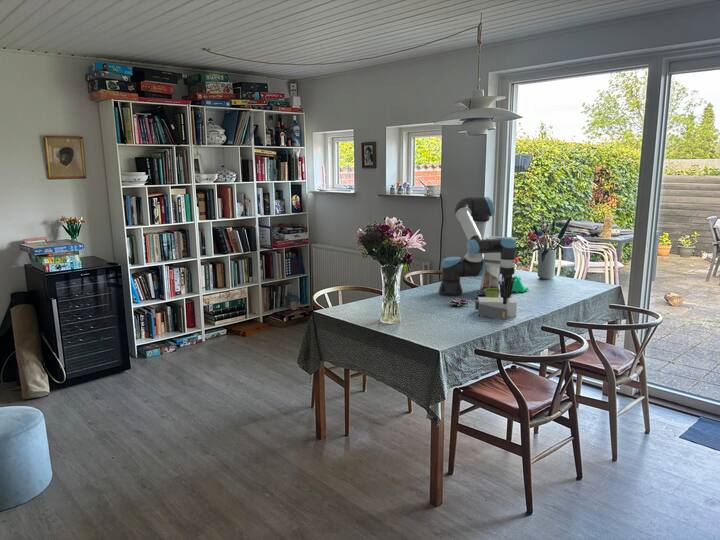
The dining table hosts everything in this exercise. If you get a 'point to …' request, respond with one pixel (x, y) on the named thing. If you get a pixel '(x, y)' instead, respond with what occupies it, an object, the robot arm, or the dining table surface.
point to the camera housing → (497, 304)
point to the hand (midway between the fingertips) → (505, 309)
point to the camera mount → (518, 285)
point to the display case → (491, 269)
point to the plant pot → (492, 292)
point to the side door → (493, 311)
